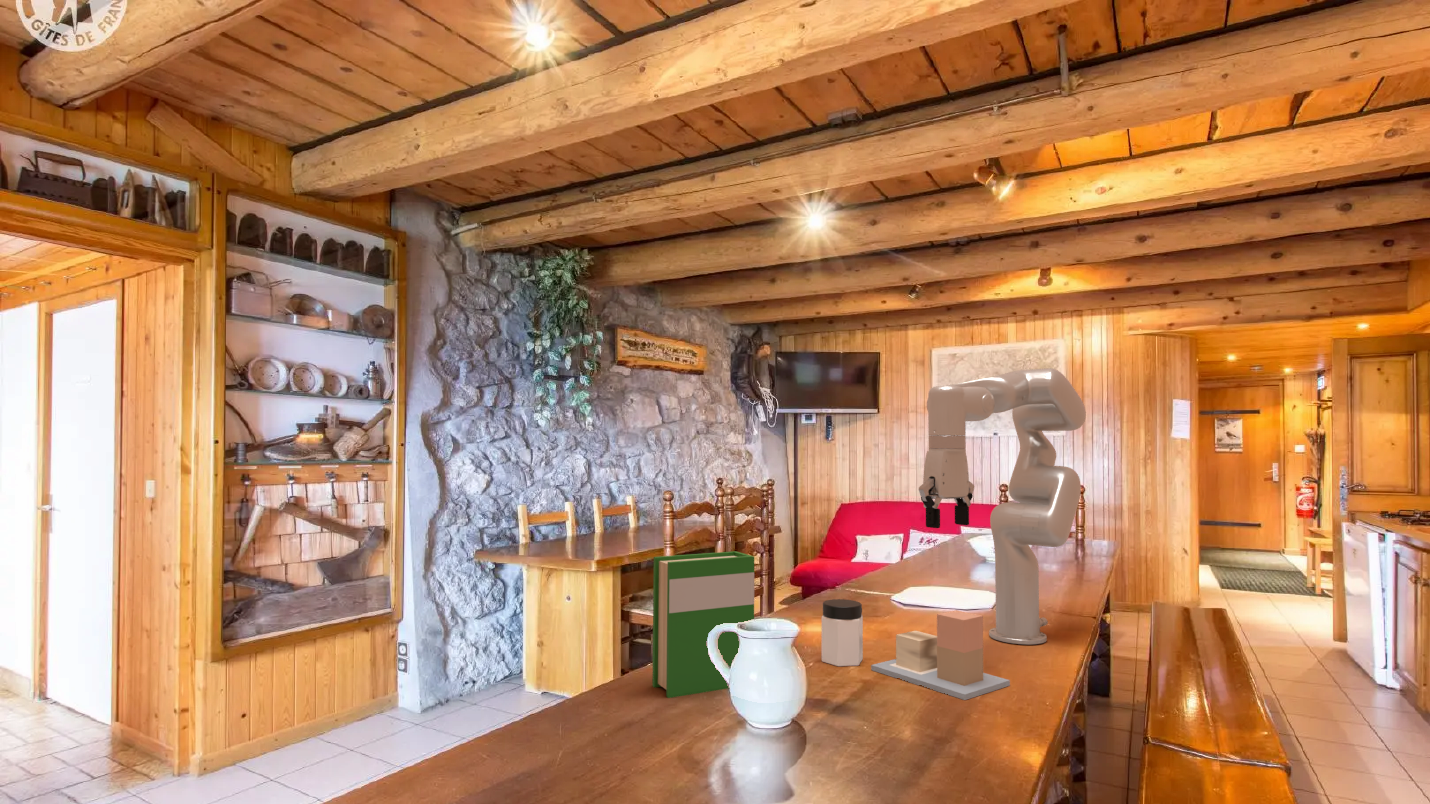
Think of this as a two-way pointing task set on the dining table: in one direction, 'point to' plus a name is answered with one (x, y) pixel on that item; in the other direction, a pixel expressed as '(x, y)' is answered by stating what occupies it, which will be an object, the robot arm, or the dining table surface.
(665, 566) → the hardback book
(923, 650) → the birch block
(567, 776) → the dining table surface
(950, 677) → the board
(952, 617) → the terracotta block
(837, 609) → the jar
